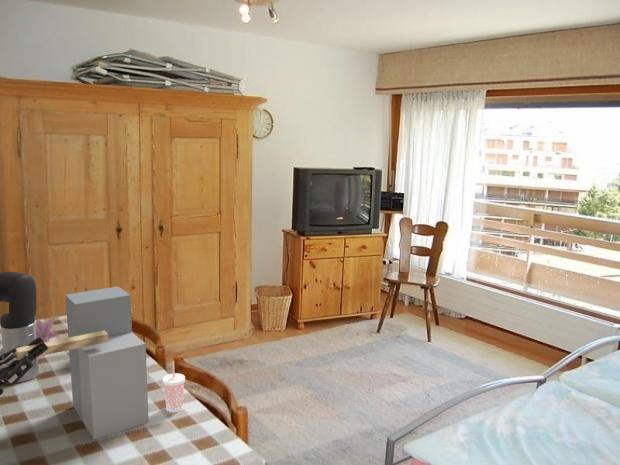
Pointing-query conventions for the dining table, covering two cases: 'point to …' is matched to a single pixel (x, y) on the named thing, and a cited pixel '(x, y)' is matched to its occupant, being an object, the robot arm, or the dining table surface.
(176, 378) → the beverage cup
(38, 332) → the lily
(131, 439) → the dining table surface
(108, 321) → the stepped stand
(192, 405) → the dining table surface
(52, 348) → the maple bar
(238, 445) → the dining table surface
